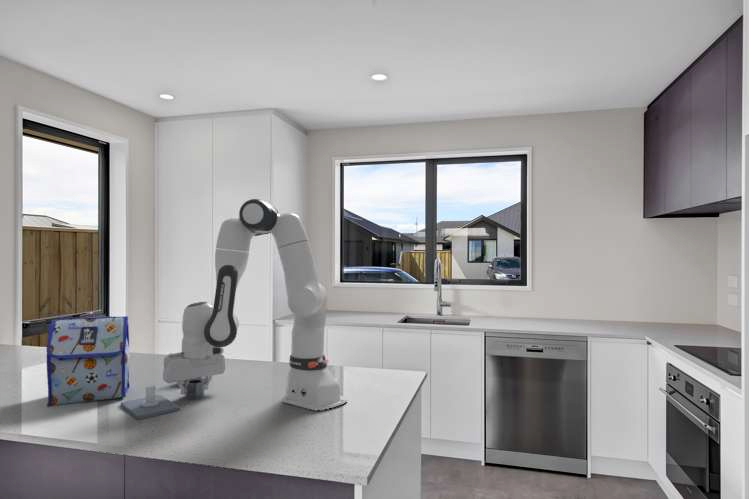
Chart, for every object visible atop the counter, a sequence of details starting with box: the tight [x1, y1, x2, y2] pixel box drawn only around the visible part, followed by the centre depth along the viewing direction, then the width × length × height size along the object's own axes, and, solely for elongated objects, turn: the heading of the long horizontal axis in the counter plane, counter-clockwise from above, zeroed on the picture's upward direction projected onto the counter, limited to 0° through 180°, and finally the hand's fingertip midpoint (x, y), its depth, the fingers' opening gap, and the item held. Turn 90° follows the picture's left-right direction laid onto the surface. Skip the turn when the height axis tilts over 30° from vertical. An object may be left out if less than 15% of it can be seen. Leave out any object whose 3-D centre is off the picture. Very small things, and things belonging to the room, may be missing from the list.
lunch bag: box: [46, 315, 131, 407], centre depth 150 cm, size 23×17×27 cm
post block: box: [120, 385, 181, 420], centre depth 142 cm, size 16×12×6 cm
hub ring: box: [184, 379, 205, 400], centre depth 154 cm, size 6×6×5 cm
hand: (194, 391), depth 154 cm, fingers closed on hub ring, 6 cm apart
